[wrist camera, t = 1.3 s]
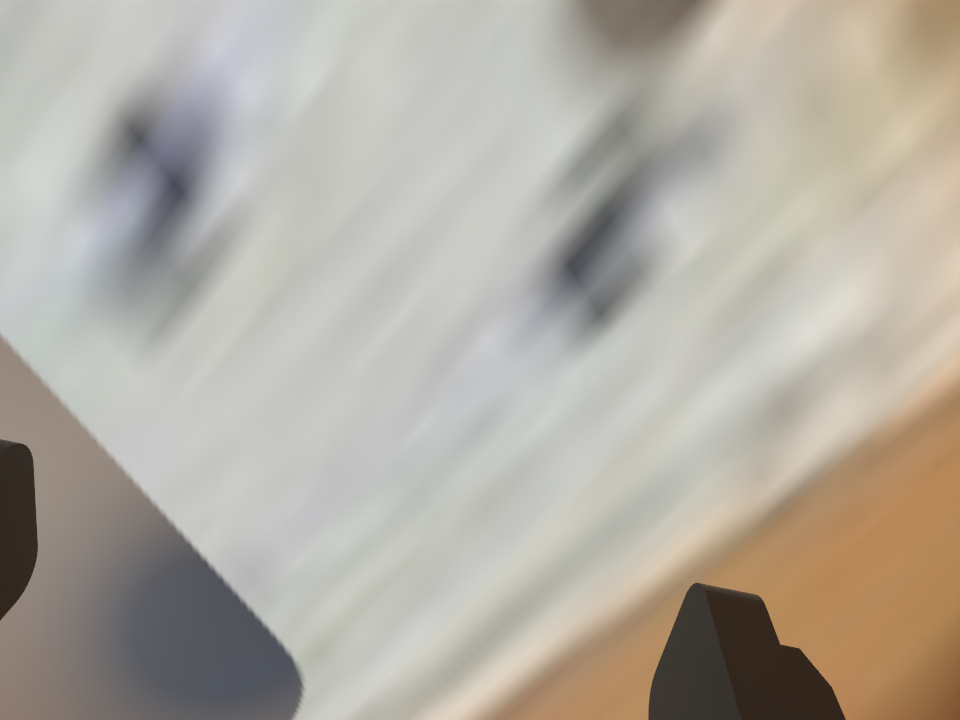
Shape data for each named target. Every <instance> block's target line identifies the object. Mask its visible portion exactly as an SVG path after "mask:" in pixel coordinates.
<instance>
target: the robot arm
mask: <svg viewBox="0 0 960 720" xmlns="http://www.w3.org/2000/svg"><path fill="white" fill-rule="evenodd" d="M37 551H38V542H37V524H36V505H35V487H34V468H33V457H32V454H31V452H30V450H29V448H28V447H27V446H26V445H24V444H21V443H16V442H11V441H6V440H1V439H0V620H1V619H2V618H3V617H4V615H5V614H6V613H7V612H8V611H9V610H10V609H11V607H12V606H13V605H14V604H15V603H16V602H17V600H18V599H19V598H20V596H21V595H22V593H23V592H24V590H25V588H26V586H27V585H28V582H29V580H30V578H31V575H32V573H33V570H34V567H35V563H36V558H37ZM649 720H846V719H845V717H844V715H843V712H842V710H841V708H840V705H839V703H838V701H837V698H836V696H835V694H834V691H833V689H832V687H831V686H830V685H829V683H828V682H827V681H826V680H825V679H824V677H823V676H822V675H821V674H820V673H819V671H818V670H817V669H816V668H815V667H814V666H813V664H812V663H811V662H810V661H809V660H808V658H807V657H806V656H805V655H804V654H803V652H802V651H801V650H800V649H799V648H794V647H789V646H784V645H780V643H779V640H778V638H777V635H776V632H775V630H774V627H773V624H772V622H771V619H770V616H769V614H768V611H767V608H766V606H765V604H764V602H763V600H762V599H761V598H760V597H759V596H758V595H755V594H750V593H745V592H740V591H735V590H730V589H725V588H720V587H715V586H710V585H705V584H700V583H694V584H693V585H692V586H691V587H690V588H689V590H688V591H687V593H686V596H685V598H684V600H683V603H682V605H681V608H680V611H679V613H678V616H677V618H676V621H675V623H674V626H673V628H672V631H671V633H670V636H669V638H668V641H667V644H666V646H665V649H664V651H663V654H662V656H661V659H660V661H659V664H658V666H657V669H656V672H655V674H654V678H653V681H652V686H651V691H650V699H649Z"/></svg>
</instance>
